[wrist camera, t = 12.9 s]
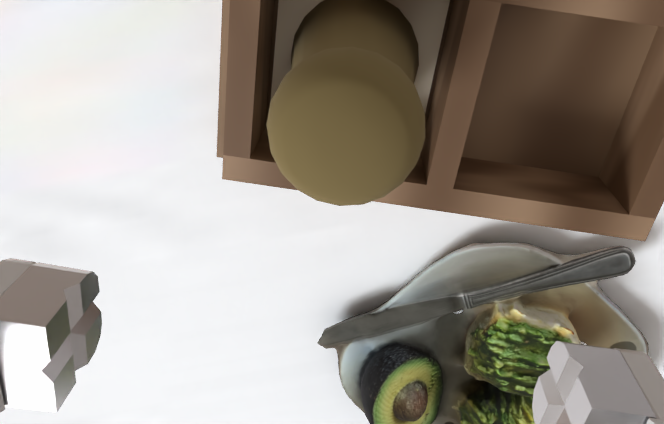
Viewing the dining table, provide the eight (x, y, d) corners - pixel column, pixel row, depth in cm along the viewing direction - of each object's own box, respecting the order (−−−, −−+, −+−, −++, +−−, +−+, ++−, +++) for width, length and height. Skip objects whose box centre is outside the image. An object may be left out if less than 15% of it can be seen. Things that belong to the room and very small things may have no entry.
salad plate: (528, 142, 30) (551, 179, 26) (716, 332, 35) (760, 388, 31) (290, 341, 38) (280, 394, 34) (472, 475, 43) (482, 535, 39)
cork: (441, 23, 26) (481, 96, 16) (387, 138, 29) (393, 258, 19) (317, -31, 25) (282, 13, 16) (273, 93, 28) (221, 194, 19)
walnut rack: (724, -28, 25) (797, -13, 21) (623, 208, 31) (663, 259, 27) (231, -102, 25) (201, -102, 21) (221, 149, 31) (195, 190, 27)
